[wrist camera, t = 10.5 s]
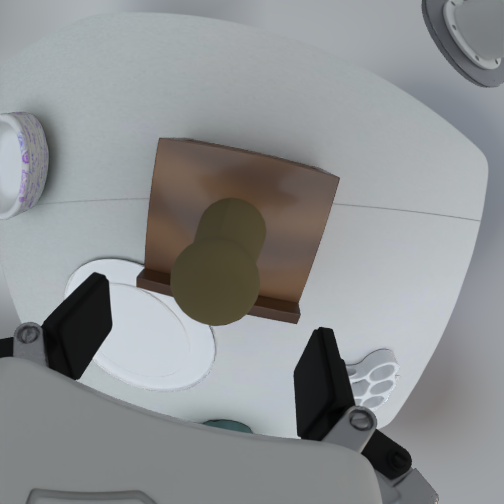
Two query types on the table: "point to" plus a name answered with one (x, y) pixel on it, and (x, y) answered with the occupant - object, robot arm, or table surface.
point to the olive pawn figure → (220, 264)
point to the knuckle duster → (373, 379)
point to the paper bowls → (21, 163)
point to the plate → (148, 333)
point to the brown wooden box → (252, 191)
